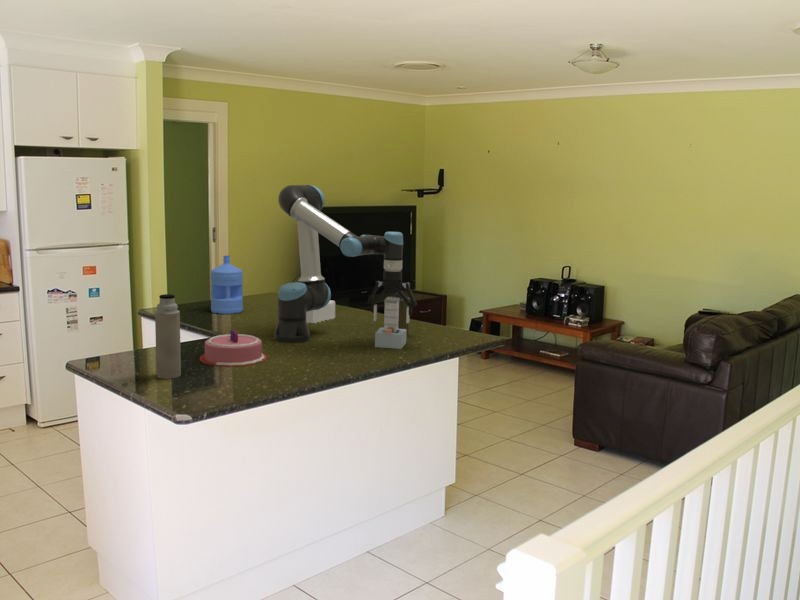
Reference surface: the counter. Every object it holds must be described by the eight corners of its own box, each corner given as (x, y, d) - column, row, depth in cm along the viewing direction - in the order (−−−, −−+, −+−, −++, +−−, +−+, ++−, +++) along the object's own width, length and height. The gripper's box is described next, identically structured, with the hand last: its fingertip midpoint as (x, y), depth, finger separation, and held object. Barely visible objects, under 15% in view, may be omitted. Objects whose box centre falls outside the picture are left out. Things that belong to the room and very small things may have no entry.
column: (382, 346, 298) (384, 299, 295) (386, 342, 305) (387, 297, 302) (395, 347, 297) (396, 300, 294) (398, 343, 304) (399, 297, 301)
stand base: (371, 349, 296) (372, 328, 295) (378, 342, 309) (379, 322, 307) (403, 351, 294) (404, 331, 293) (408, 344, 307) (409, 324, 305)
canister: (406, 340, 315) (407, 294, 311) (382, 338, 317) (383, 293, 313) (411, 335, 325) (412, 290, 322) (388, 333, 327) (389, 289, 324)
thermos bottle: (160, 372, 254) (158, 292, 249) (183, 372, 254) (182, 293, 250) (153, 378, 246) (151, 296, 241) (177, 379, 247) (175, 297, 242)
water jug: (210, 309, 371) (209, 254, 366) (241, 308, 375) (241, 254, 371) (211, 315, 356) (211, 257, 351) (244, 314, 361) (244, 257, 356)
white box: (312, 324, 342) (313, 291, 340) (283, 319, 352) (283, 286, 349) (335, 318, 357) (335, 286, 354) (306, 314, 366) (306, 282, 364)
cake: (276, 363, 272) (276, 335, 270) (209, 370, 260) (208, 340, 258) (255, 348, 293) (255, 322, 291) (192, 354, 281) (191, 327, 279)
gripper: (360, 269, 294) (359, 321, 298) (422, 273, 290) (420, 325, 294) (364, 267, 302) (363, 317, 305) (424, 270, 298) (422, 321, 301)
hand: (391, 321), depth 300 cm, fingers open, 13 cm apart
